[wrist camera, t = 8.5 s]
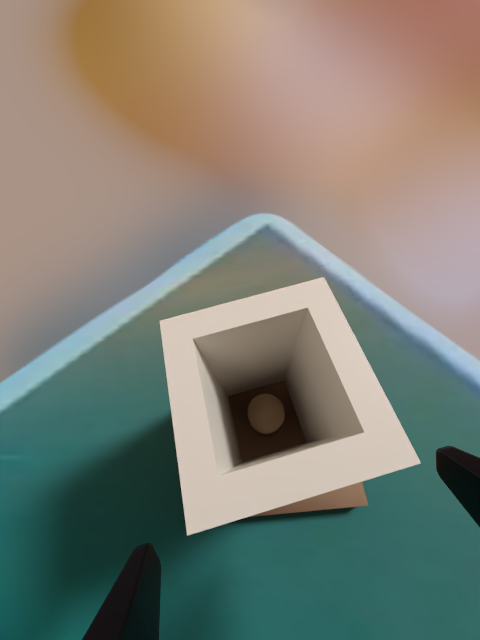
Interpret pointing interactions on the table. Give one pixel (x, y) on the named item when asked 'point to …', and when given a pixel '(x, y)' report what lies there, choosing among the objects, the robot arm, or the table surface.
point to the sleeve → (306, 394)
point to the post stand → (281, 442)
